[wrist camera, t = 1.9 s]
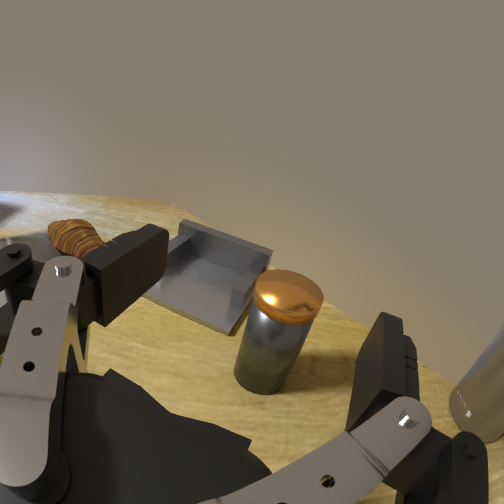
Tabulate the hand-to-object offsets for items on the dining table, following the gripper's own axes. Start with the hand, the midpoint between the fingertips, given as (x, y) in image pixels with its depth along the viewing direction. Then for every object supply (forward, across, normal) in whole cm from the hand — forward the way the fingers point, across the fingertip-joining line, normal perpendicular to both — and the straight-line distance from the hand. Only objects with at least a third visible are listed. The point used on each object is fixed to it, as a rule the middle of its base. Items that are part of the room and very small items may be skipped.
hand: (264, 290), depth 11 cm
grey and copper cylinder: (+11, 0, +17) cm, 20 cm away
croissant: (+16, +28, +17) cm, 37 cm away
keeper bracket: (+21, +11, +17) cm, 29 cm away
